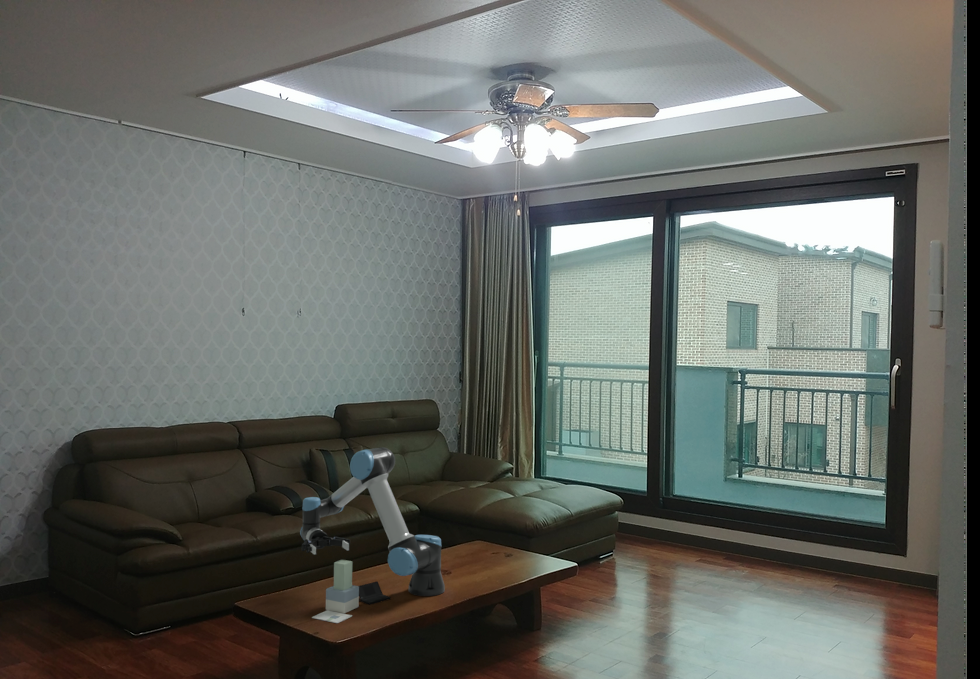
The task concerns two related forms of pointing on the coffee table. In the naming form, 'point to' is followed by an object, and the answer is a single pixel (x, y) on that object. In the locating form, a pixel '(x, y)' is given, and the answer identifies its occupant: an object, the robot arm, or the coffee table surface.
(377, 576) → the coffee table surface
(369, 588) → the handheld gaming console
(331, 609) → the tower base
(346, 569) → the top brick
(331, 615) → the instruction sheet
